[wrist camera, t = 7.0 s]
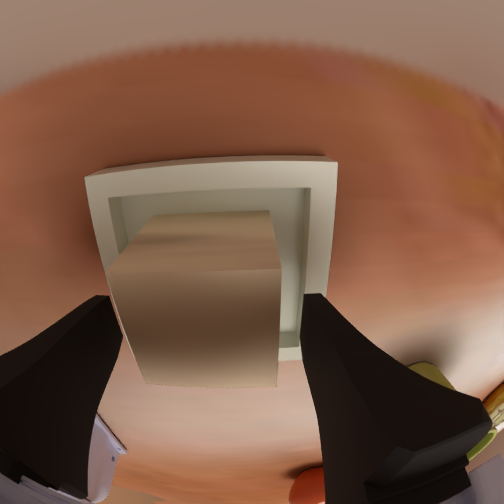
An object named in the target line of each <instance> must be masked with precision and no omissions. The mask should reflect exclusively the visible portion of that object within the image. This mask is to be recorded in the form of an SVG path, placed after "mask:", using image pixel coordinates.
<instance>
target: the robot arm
mask: <svg viewBox="0 0 504 504" xmlns="http://www.w3.org/2000/svg"><path fill="white" fill-rule="evenodd" d="M299 338H300V345H301V353H302V360H303V364H304V368H305V372H306V376H307V379H308V383H309V387H310V391H311V394H312V398H313V402H314V406H315V410H316V414H317V419H318V426H319V433H320V441H321V450H322V459H323V471H324V485H325V504H504V459H503V457H502V455H501V454H497V455H496V456H494V457H493V458H491V459H490V460H488V461H486V462H485V463H483V464H482V465H480V466H478V467H476V468H475V469H473V470H472V471H470V472H469V473H467V472H466V470H465V466H467V465H468V464H469V460H468V458H467V455H466V454H467V453H468V452H469V451H470V450H472V449H473V448H474V447H475V446H476V445H477V444H478V443H479V442H480V441H481V440H482V439H483V438H484V437H485V436H486V435H487V434H488V432H489V431H490V429H491V427H492V423H493V421H492V420H491V418H490V416H489V414H488V412H487V410H486V409H485V407H484V405H483V403H482V401H481V400H480V399H479V398H476V397H473V396H470V395H467V394H464V393H461V392H458V391H455V390H452V389H450V388H447V387H445V386H443V385H440V384H438V383H436V382H434V381H432V380H430V379H428V378H426V377H424V376H422V375H420V374H418V373H416V372H415V371H413V370H411V369H409V368H408V367H406V366H404V365H403V364H401V363H400V362H398V361H397V360H395V359H394V358H392V357H391V356H389V355H388V354H387V353H385V352H384V351H382V350H381V349H380V348H378V347H377V346H376V345H375V344H373V343H372V342H371V341H370V340H369V339H367V338H366V337H365V336H364V335H363V334H361V333H360V332H359V331H358V330H357V329H356V328H355V327H354V326H353V325H352V324H351V323H350V322H349V321H348V320H346V319H345V318H344V317H343V316H342V315H341V313H340V312H339V311H338V310H337V309H336V308H335V307H334V306H333V305H332V304H331V303H330V302H329V301H328V300H327V299H326V298H325V297H324V296H323V295H322V294H321V293H310V294H304V295H303V306H302V317H301V327H300V336H299ZM122 339H123V335H122V332H121V329H120V326H119V324H118V321H117V318H116V315H115V312H114V309H113V306H112V303H111V300H110V297H109V296H104V295H96V296H94V297H92V298H90V299H89V300H87V301H86V302H84V303H83V304H81V305H80V306H78V307H77V308H75V309H74V310H73V311H71V312H70V313H68V314H67V315H66V316H64V317H63V318H62V319H60V320H59V321H57V322H56V323H55V324H53V325H52V326H50V327H49V328H47V329H46V330H44V331H43V332H41V333H40V334H38V335H37V336H35V337H34V338H32V339H31V340H29V341H27V342H26V343H24V344H22V345H20V346H19V347H17V348H15V349H13V350H11V351H9V352H7V353H5V354H3V355H1V356H0V504H94V503H98V502H100V501H102V500H103V499H105V498H106V497H107V495H108V494H109V492H110V489H111V485H112V480H113V476H114V472H115V468H116V464H117V461H118V457H119V453H121V454H127V451H126V449H125V448H124V447H123V446H122V445H121V444H120V442H119V441H118V440H117V439H116V438H115V436H114V435H113V434H112V433H111V431H110V430H109V429H108V428H107V426H106V425H105V424H104V423H103V421H102V420H101V419H100V417H99V416H98V415H97V409H98V406H99V403H100V400H101V398H102V395H103V393H104V390H105V388H106V385H107V383H108V380H109V378H110V375H111V373H112V370H113V368H114V365H115V363H116V360H117V358H118V354H119V351H120V347H121V343H122Z"/></svg>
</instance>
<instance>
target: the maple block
mask: <svg viewBox="0 0 504 504" xmlns="http://www.w3.org/2000/svg"><path fill="white" fill-rule="evenodd" d="M106 275H107V279H108V282H109V286H110V289H111V292H112V295H113V299H114V302H115V305H116V308H117V311H118V314H119V317H120V319H121V322H122V325H123V328H124V331H125V333H126V336H127V339H128V341H129V344H130V346H131V349H132V351H133V354H134V356H135V359H136V361H137V364H138V366H139V368H140V371H141V373H142V375H143V378H144V380H145V382H146V384H156V385H168V386H183V387H206V388H257V387H277V375H278V356H279V335H280V311H281V280H282V268H281V263H280V258H279V253H278V249H277V244H276V239H275V235H274V230H273V226H272V221H271V217H270V212H269V210H260V211H229V212H205V213H185V214H168V215H154V216H153V217H152V218H151V219H150V220H149V221H148V223H147V224H146V225H145V226H144V227H143V228H142V229H141V230H140V232H139V233H138V234H137V235H136V236H135V237H134V239H133V240H132V241H131V242H130V243H129V244H128V246H127V247H126V248H125V249H124V250H123V252H122V253H121V254H120V255H119V256H118V258H117V259H116V260H115V261H114V263H113V264H112V265H111V266H110V268H109V269H108V270H107V271H106Z"/></svg>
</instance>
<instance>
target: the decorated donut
mask: <svg viewBox="0 0 504 504" xmlns="http://www.w3.org/2000/svg"><path fill="white" fill-rule="evenodd" d="M483 405H484V407H485V409H486V410H487V412H488V414H489V416H490V418H491V420H492V421H493V423H492V427H496V426H498V425H499V424H501V423H503V422H504V383H503V384H502V385H501V386H500V387H498V388H497V389H496V390H495V391H494V392H493V393H492V394H491V395H490V396H489V397H488V398H487V400H486V401H485V402H484V403H483Z"/></svg>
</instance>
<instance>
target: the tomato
mask: <svg viewBox="0 0 504 504" xmlns="http://www.w3.org/2000/svg"><path fill="white" fill-rule="evenodd" d="M289 503H290V504H325V485H324V471H323V467H315V468H311V469H307V470H305V471H303V472H302V473H301V474H300V475H299V476H298V477H297V478H296V479H295V481H294V483H293V485H292V487H291V490H290V493H289Z"/></svg>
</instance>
